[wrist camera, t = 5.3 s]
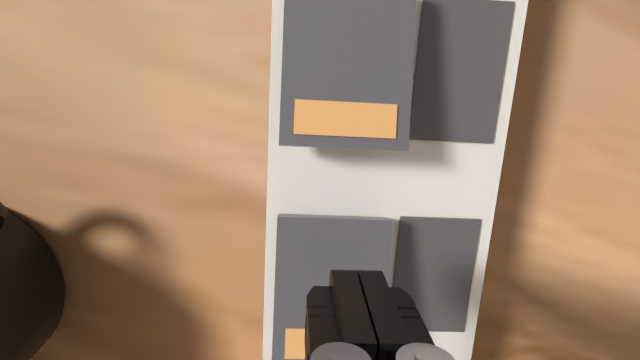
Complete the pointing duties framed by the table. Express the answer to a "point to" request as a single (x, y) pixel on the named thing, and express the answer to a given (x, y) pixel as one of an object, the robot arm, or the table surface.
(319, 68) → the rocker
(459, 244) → the power strip
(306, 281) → the plate
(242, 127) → the table surface
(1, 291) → the mug
